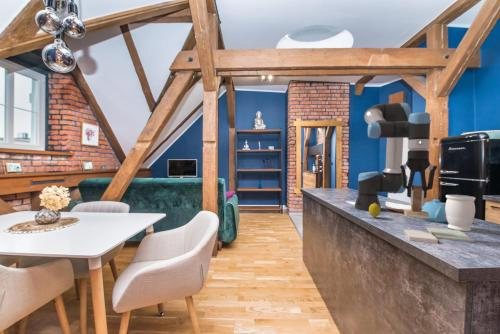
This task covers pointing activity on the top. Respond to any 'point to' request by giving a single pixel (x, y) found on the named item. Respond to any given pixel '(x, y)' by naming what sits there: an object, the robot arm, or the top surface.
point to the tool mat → (449, 234)
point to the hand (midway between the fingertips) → (416, 205)
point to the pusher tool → (416, 204)
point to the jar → (460, 212)
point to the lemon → (374, 210)
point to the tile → (420, 236)
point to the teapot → (435, 211)
